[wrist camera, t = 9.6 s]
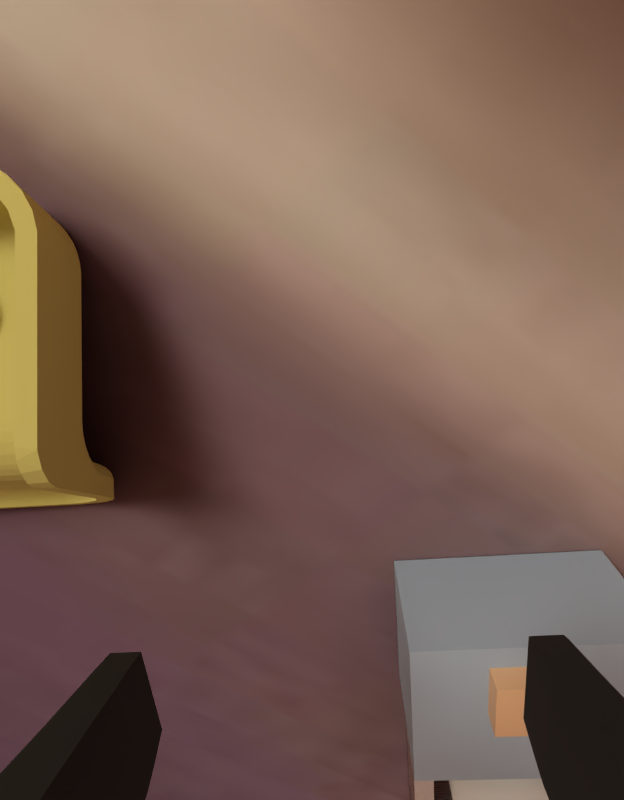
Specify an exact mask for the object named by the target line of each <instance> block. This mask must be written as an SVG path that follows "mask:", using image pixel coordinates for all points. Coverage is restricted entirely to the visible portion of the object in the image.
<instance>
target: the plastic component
mask: <svg viewBox="0 0 624 800" xmlns="http://www.w3.org/2000/svg"><path fill="white" fill-rule="evenodd" d="M113 499H114V479H113V476H112V474H111V472H110V471H109V470H108V469H107V468H106V467H104V466H102V465H100V464H97V463H94V462H92V460H91V459H90V457H89V454H88V451H87V448H86V445H85V440H84V436H83V425H82V317H81V267H80V261H79V257H78V253H77V250H76V248H75V246H74V243H73V242H72V240H71V238H70V237H69V235H68V234H67V232H66V231H65V230H64V229H63V227H62V226H61V225H60V224H59V223H58V222H56V221H55V220H54V219H53V218H52V217H51V216H50V215H49V214H48V213H47V212H46V211H45V210H44V209H43V208H42V207H41V206H39V205H38V204H37V203H36V202H35V201H34V200H33V199H32V198H31V197H30V196H29V195H28V194H27V193H26V192H25V191H24V190H22V189H21V188H20V187H19V186H18V185H17V184H16V183H15V182H14V181H13V180H12V179H11V178H10V177H9V176H8V175H7V174H5V173H3V172H2V171H0V509H4V508H23V507H42V506H61V505H79V504H91V503H100V502H107V501H112V500H113Z"/></svg>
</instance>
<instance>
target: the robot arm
mask: <svg viewBox="0 0 624 800" xmlns="http://www.w3.org/2000/svg"><path fill="white" fill-rule="evenodd" d="M523 719H524V722H525V726H526V729H527V733H528V736H529V740H530V743H531V747H532V750H533V753H534V757H535V760H536V763H537V767H538V770H539V773H540V776H541V780H542V783H543V786H544V788H545V791H546V793H547V796H548V798H549V800H624V697H623V696H622V695H621V694H620V693H619V692H618V691H617V690H616V689H615V688H614V687H613V686H612V685H611V684H610V683H609V682H608V680H607V679H606V678H605V677H604V676H603V675H602V674H601V673H600V672H599V671H598V670H597V669H596V668H595V667H594V666H593V665H592V663H591V662H590V661H589V660H588V659H587V658H586V657H585V656H584V655H583V654H582V653H581V652H580V651H579V649H578V648H577V647H576V646H575V645H574V644H573V643H572V642H571V641H570V640H569V639H568V638H567V637H566V636H565V635H543V636H529V640H528V655H527V671H526V686H525V702H524V717H523ZM161 731H162V728H161V724H160V720H159V717H158V713H157V709H156V706H155V702H154V698H153V695H152V691H151V687H150V684H149V680H148V676H147V672H146V669H145V665H144V661H143V658H142V654H141V652H129V653H110V654H109V655H108V656H107V657H106V658H105V659H104V661H103V662H102V663H101V664H100V665H99V666H98V667H97V668H96V669H95V670H94V671H93V672H92V674H91V675H90V676H89V677H88V678H87V679H86V680H85V681H84V682H83V684H82V685H81V686H80V687H79V688H78V689H77V690H76V691H75V692H74V694H73V695H72V696H71V697H70V698H69V699H68V700H67V701H66V703H65V704H64V705H63V706H62V707H61V708H60V709H59V710H58V711H57V713H56V714H55V715H54V716H53V717H52V718H51V719H50V720H49V721H48V723H47V724H46V725H45V726H44V727H43V728H42V729H41V730H40V731H39V732H38V733H37V735H36V736H35V737H34V738H33V739H32V740H31V741H30V742H29V743H28V744H27V745H26V746H25V747H24V749H23V750H22V751H21V752H20V753H19V754H18V755H17V756H16V757H15V758H14V759H13V760H12V762H11V763H10V764H9V765H8V766H7V767H6V768H5V769H4V770H3V771H2V772H1V773H0V800H145V798H146V795H147V792H148V788H149V784H150V780H151V776H152V772H153V768H154V763H155V759H156V754H157V750H158V745H159V741H160V736H161Z"/></svg>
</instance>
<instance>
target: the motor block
mask: <svg viewBox="0 0 624 800" xmlns="http://www.w3.org/2000/svg"><path fill="white" fill-rule="evenodd" d="M394 572H395V593H396V614H397V635H398V656H399V675H400V682H401V689H402V696H403V703H404V710H405V717H406V725H407V732H408V739H409V746H410V753H411V760H412V767H413V774H414V781H445V780H491V779H537V778H541V776H540V773H539V770H538V767H537V763H536V760H535V757H534V753H533V750H532V747H531V743H530V740H529V736H528V733H527V729H526V726H525V722H524V719H523V717H524V702H525V686H526V671H527V655H528V640H529V636H543V635H565V636H566V637H567V638H568V639H569V640H570V641H571V642H572V643H573V644H574V645H575V646H576V647H577V648H578V649H579V651H580V652H581V653H582V654H583V655H584V656H585V657H586V658H587V659H588V660H589V661H590V662H591V663H592V665H593V666H594V667H595V668H596V669H597V670H598V671H599V672H600V673H601V674H602V675H603V676H604V677H605V678H606V679H607V680H608V682H609V683H610V684H611V685H612V686H613V687H614V688H615V689H616V690H617V691H618V692H619V693H620V694H621V695H622V696H623V697H624V578H623V577H622V576H621V574H620V573H619V572H618V571H617V569H616V568H615V567H614V566H613V564H612V563H611V562H610V561H609V559H608V558H607V557H606V555H605V554H604V553H603V552H602V550H596V551H577V552H558V553H538V554H519V555H500V556H481V557H461V558H442V559H423V560H404V561H394Z"/></svg>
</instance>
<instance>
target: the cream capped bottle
mask: <svg viewBox="0 0 624 800" xmlns="http://www.w3.org/2000/svg"><path fill="white" fill-rule="evenodd" d="M449 784H450V789H451V794H452V799H453V800H549V798H548V796H547V793H546V791H545V788H544V786H543V783H542V780H541V778H537V779H491V780H449Z"/></svg>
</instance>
